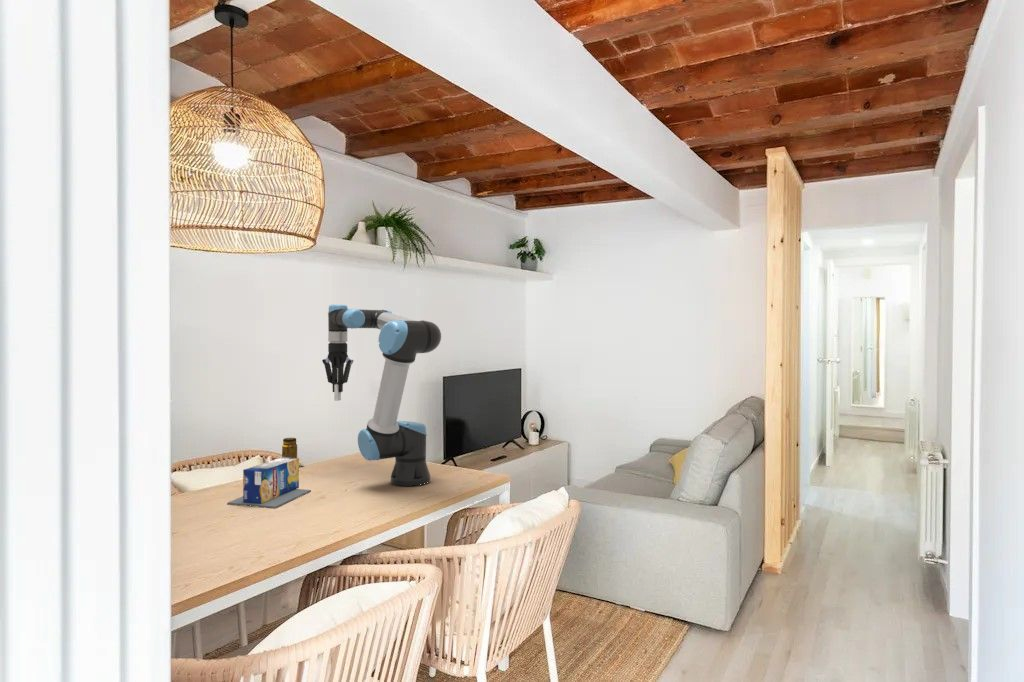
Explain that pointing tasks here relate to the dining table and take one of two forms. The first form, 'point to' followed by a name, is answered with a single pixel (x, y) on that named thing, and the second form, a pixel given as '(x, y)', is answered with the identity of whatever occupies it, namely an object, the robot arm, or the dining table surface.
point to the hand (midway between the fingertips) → (337, 400)
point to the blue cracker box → (270, 480)
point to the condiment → (289, 448)
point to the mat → (274, 499)
